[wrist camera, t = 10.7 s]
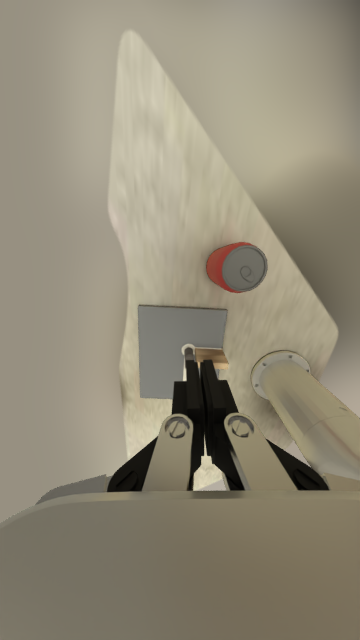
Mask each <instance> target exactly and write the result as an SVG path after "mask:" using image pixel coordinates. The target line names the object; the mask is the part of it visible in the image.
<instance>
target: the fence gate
mask: <svg viewBox="0 0 360 640" xmlns="http://www.w3.org/2000/svg"><path fill="white" fill-rule="evenodd" d="M184 356H185V368H186V360H194V355H193V349H192V348H189V347H188V348H186V349H185V351H184Z"/></svg>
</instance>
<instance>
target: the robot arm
mask: <svg viewBox="0 0 360 640" xmlns="http://www.w3.org/2000/svg"><path fill="white" fill-rule="evenodd" d="M251 383H252V386H253V388H254V390H255V391H256V393H257V394H258V395H259V396H261V397H262V398H264V399H267V400H269V401H270V402H271V404H272V406H273V407H274V409H275V411H276V412H277V414H278V415H279V417H280V419H281V420H282V422H283V423H284V425H285V427H286V428H287V430H288V431H289V433H290V435H291V436H292V438H293V440H294V441H295V443H296V444H297V446H298V448H299V449H300V451H301V452H302V454H303V455H304V457H305V459H306V460H307V462H308V463H309V465H310V466H311V467H309V466H308V465H306V464H304V463H303V462H301V461H300V460H298V459H296V458H295V457H294V456H292V455H290V454H289V453H287V452H286V451H284V450H283V449H281V448H279V447H278V446H276V445H275V444H273V443H272V442H270V441H269V440H267V439H265V437H264V436H263V434H262V432H261V431H260V429H259V428H258V426H257V424H256V423H255V422H254V420H253V419H251V418H250V417H249V416H247V415H245V414H242V413H239V412H238V409H237V406H236V404H235V401H234V398H233V396H232V393H231V390H230V387H229V385H228V382H227V380H218V378H217V375H216V371H215V368H214V364H213V361H212V359H209V360H203V362H200V375H199V368H198V362H194V360H186V381H174V390H173V403H172V415H170V416H169V417H167V418H166V419H165V420H164V421H163V423H162V425H161V429H160V432H159V435H158V436H157V437H156V438H155V439H154V440H153V441H152V442H150V443H149V444H148V445H147V446H146V447H144V448H143V449H142V450H141V451H140V452H138V453H137V454H136V455H135V456H134V457H132V458H131V459H130V460H129V461H128V462H126V463H125V464H124V465H123V466H122V467H120V468H119V469H118V470H117V471H116V472H115V473H114V475H113V476H109V477H107V476H106V474H105V475H101V476H98V477H94V478H90V479H86V480H83V481H79V482H76V483H71V484H68V485H64V486H60V487H57V488H55V489H53V490H50V491H49V492H48V493H46V494H45V495H44V496H42V497H41V499H40V500H39V501H38V502H37V503H36V504H35V505H34V506H32V507H29V508H27V509H25V510H23V511H21V512H19V513H17V514H15V515H13V516H12V517H10V518H8V519H6V520H5V521H3V522H2V523H0V640H360V418H359V417H358V416H357V415H356V414H354V413H353V412H352V411H351V410H350V409H349V408H348V407H347V406H345V405H344V404H343V403H342V402H341V401H340V400H339V399H338V398H336V397H335V396H334V395H333V394H332V393H331V392H330V391H329V390H327V389H326V388H325V387H324V386H323V385H322V384H321V383H320V382H318V381H317V380H316V379H315V378H314V377H313V376H312V375H311V370H310V366H309V364H308V363H307V361H306V360H305V359H304V358H303V357H301V356H300V355H298V354H296V353H294V352H290V351H278V352H274V353H271V354H268V355H267V356H265V357H263V358H262V359H261V360H260V361H259V362H258V363H257V364H256V365H255V367H254V369H253V371H252V374H251ZM204 434H205V442H206V450H207V456H211V458H212V464H215V465H216V466H217V467H218V468H219V469H220V470H221V471H222V477H223V480H224V484H225V487H226V490H227V491H193V485H194V473H195V472H196V470H197V469H198V468H199V467H200V466H201V456H204Z"/></svg>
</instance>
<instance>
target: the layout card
mask: <svg viewBox="0 0 360 640" xmlns="http://www.w3.org/2000/svg"><path fill="white" fill-rule="evenodd" d="M226 317H227V310H226V309H207V308H188V307H168V306H149V305H139V306H138V329H139V367H140V398H157V399H173V390H174V381H186V368H185V356H184V351H185V349H186V348H188V347H189V348H192V349H193V355H194V362H196V360H195V348H201V349H221V350H222V347H223V339H224V332H225V325H226ZM215 371H216V375H217V378H218V376H219V369H215ZM199 375H200V368H199Z"/></svg>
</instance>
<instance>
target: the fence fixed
mask: <svg viewBox="0 0 360 640" xmlns="http://www.w3.org/2000/svg"><path fill="white" fill-rule="evenodd" d="M209 359H212V361H213V364H214V368H215V369H228V361H227V359H226V357H225V355H224V352H223V350H221V349H201V348H195V360H196V362H198V368H200V362H203V360H209Z"/></svg>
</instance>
